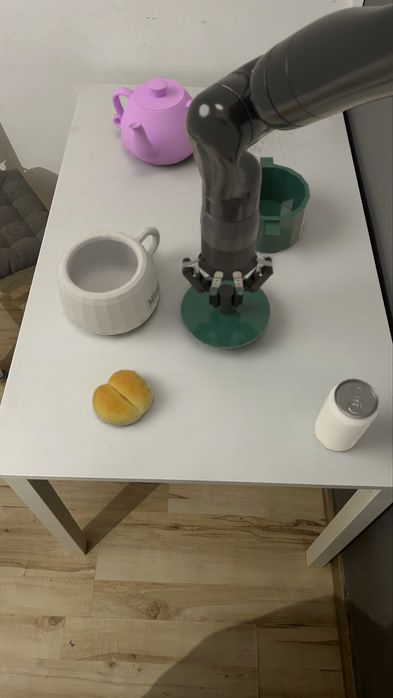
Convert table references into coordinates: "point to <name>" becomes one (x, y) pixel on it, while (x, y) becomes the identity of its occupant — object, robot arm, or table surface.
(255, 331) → the lid
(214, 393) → the table surface
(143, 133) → the teapot
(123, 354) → the table surface
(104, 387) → the bread roll
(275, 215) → the pot
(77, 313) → the mug
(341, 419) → the can
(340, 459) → the table surface
